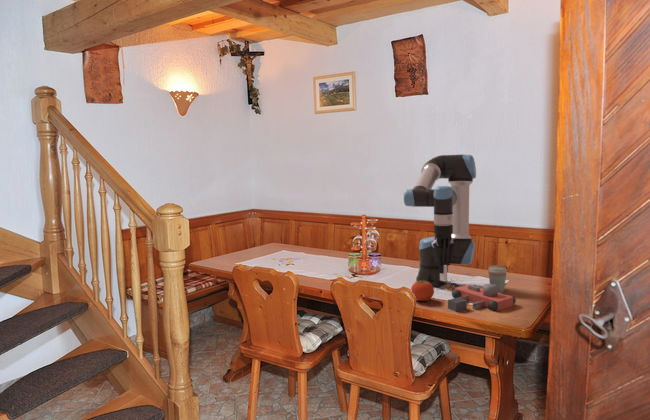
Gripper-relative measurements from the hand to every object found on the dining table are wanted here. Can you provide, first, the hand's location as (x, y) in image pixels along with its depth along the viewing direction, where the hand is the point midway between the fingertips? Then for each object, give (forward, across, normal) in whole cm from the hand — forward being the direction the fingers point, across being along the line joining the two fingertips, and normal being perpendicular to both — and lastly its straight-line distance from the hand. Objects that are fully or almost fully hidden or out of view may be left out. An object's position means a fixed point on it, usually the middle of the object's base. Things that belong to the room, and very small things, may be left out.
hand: (443, 280), depth 196 cm
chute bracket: (+14, +16, 0) cm, 21 cm away
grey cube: (+14, +8, 0) cm, 16 cm away
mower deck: (+14, +24, 0) cm, 28 cm away
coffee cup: (+14, +40, +5) cm, 43 cm away
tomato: (+14, +4, +17) cm, 23 cm away
